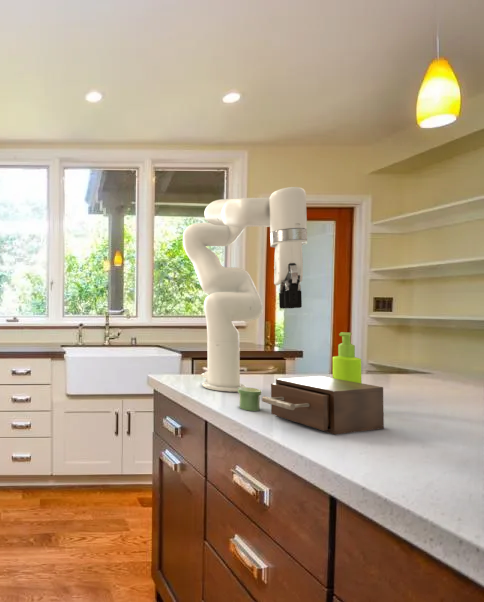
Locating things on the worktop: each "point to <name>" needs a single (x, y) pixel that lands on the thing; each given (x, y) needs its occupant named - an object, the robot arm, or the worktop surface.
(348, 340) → the soap dispenser
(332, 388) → the cabinet
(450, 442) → the worktop surface
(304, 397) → the drawer
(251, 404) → the pot
